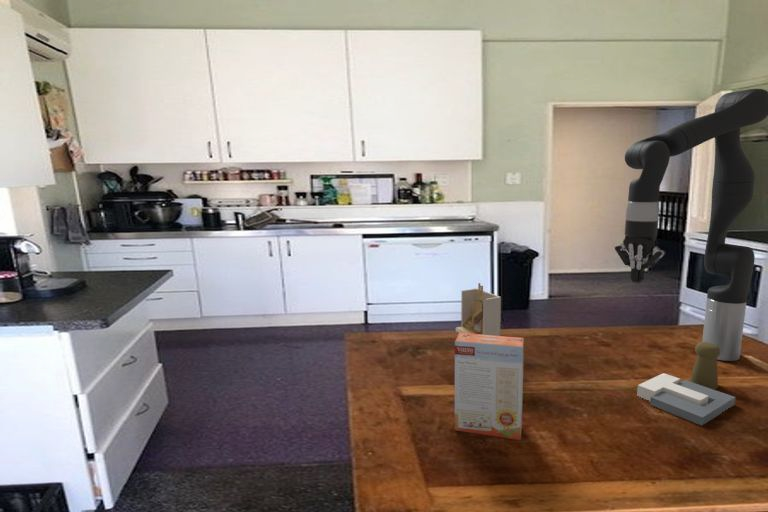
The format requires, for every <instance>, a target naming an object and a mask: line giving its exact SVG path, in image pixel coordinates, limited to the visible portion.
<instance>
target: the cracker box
mask: <svg viewBox="0 0 768 512" xmlns="http://www.w3.org/2000/svg"><path fill="white" fill-rule="evenodd" d="M524 341H525V339H524V337H516V336H504V335H500V336H494V335H481V334H470V333H459V332H458V334H457V337H456V339H455V341H454V430H455V431H456V432H465V433H470V434H478V435H484V436H489V437H490V436H491V437H496V438H501V439H502V438H503V439H510V440H517V441H521V439H522V430H523V429H522V427H523V397H524V396H523V395H524V394H523V389H524V388H523V386H524V385H523V384H524V347H525V346H524V344H525V342H524Z"/></svg>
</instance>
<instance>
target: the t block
mask: <svg viewBox="0 0 768 512" xmlns="http://www.w3.org/2000/svg"><path fill="white" fill-rule="evenodd" d="M679 382H681V378H680V377H676V376H674V375H670V374H667V373H664V372H663V373H661V374H659V375H656V376H654V377H652V378H650V379H648V380H646V381H643V382H641V383H640V384H637V391H636V397H637V396H639V397H638V398H640V397H641V398H640V399H642V398H644V399H643V400H645V399H646V400H645V401H647V400H649V401H648V402H650V398H651V397H652V396H654V395H656V394H657V393H659V392H661V391H663V392H666V393H668V394H671V395H674V396H676V397H679V398H682V399H685V400H687V401H690V402H693V403H695V404H698V405H701V406H703V407H704V406H706V405H707V404H708V395H705V394H702V393H699V392H697V391H694V390H691V389H688V388H685V387H682V386H680V385H677V383H679Z"/></svg>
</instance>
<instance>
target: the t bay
mask: <svg viewBox="0 0 768 512" xmlns="http://www.w3.org/2000/svg"><path fill="white" fill-rule="evenodd" d="M677 385H680V386H682V387H685V388H688V389H691V390H694V391H697V392H699V393H702V394H705V395H708V404H707V405H706V406H704V407H703V406H701V405H698V404H695V403H693V402H690V401H687V400H685V399H682V398H679V397H676V396H674V395H671V394H668V393H666V392H663V391H661V392H659V393H657V394H656V395H654V396H652V397H651V398H650V401H649V405H650V406H652V407H654V406H655V407H654V408H656V407H657V409H659V410H661V409H662V411H664V412H667V413H669V414H671V415H673V416H677V417H679V418H682V419H684V420H686V421H689V422H691V423H694V424H696V425H699V426H701V427H702V426H704V425H705V424H707V423H708V422H710V421H712V420H714V419H715V418H716V417H718V416H719V415H721V414H722V412H723V413H724V412H725V410H726V411H728V408H729V409H730V408H731V407H734V406H735V402H736V396H733V395H731V394H727V393H725V392H721V391H719V390H717V389H710V388H707V387H704V386H701V385H698V384H695V383H693V382H690V380H687V379H683V380H682V381H681V380H680V382H679V383H677Z"/></svg>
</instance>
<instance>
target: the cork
mask: <svg viewBox="0 0 768 512" xmlns="http://www.w3.org/2000/svg"><path fill="white" fill-rule="evenodd" d="M694 351H695V353H696V358H695V361H694V365H693V367H692V368H693V369H692V372H691V376H690V380H689V381H690V382H693V383H695V384H698V385H701V386H704V387H707V388H710V389H713V390H717V389H718V388H719V383H718V382H719V378H718V375H719V374H718V363H717V362H718V359H717V357H719V355H720V348H719V347H718V346H717V345H715V344H713V343H708V342H702V341H700V342H698V343H697V344H696V345H695V347H694ZM716 388H717V389H716Z"/></svg>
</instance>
